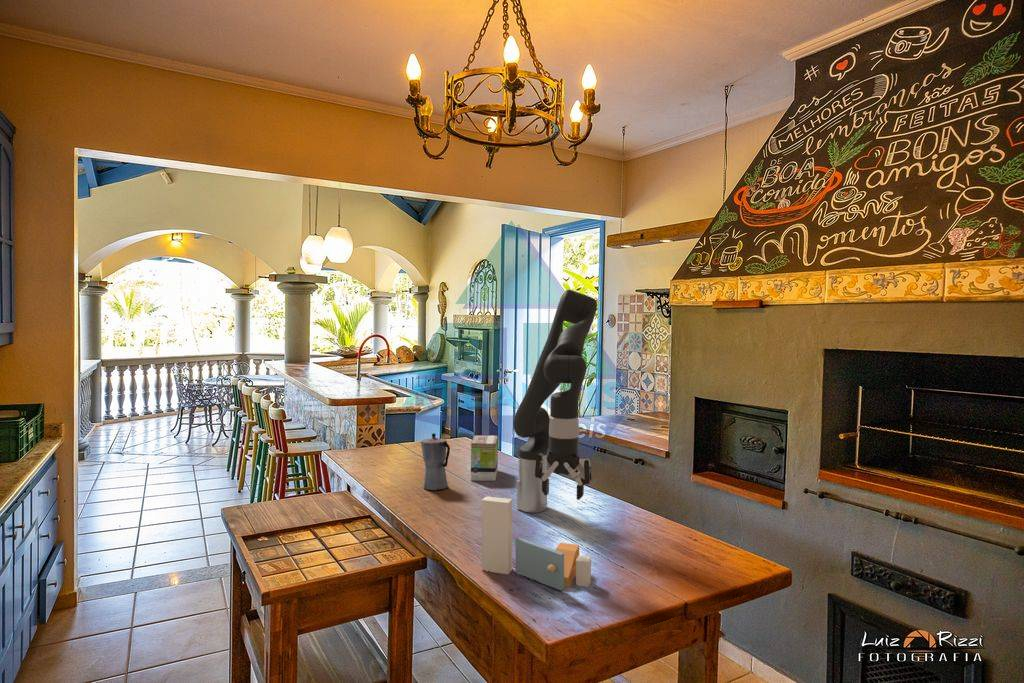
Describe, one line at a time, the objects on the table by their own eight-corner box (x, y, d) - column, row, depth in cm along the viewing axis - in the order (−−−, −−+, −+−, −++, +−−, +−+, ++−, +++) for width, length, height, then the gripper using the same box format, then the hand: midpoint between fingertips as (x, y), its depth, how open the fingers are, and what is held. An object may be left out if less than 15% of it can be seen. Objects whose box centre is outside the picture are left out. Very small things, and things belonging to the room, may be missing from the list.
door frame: (482, 570, 145) (481, 500, 144) (486, 565, 148) (486, 496, 147) (588, 586, 136) (588, 511, 135) (590, 581, 139) (591, 507, 138)
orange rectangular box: (568, 588, 135) (568, 563, 135) (547, 584, 137) (547, 560, 137) (579, 568, 146) (579, 545, 145) (560, 565, 147) (560, 542, 147)
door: (511, 574, 141) (511, 540, 141) (518, 570, 143) (518, 537, 143) (557, 592, 132) (557, 556, 132) (564, 588, 134) (564, 553, 133)
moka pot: (432, 480, 221) (431, 429, 220) (460, 488, 211) (460, 434, 210) (413, 486, 213) (412, 433, 212) (441, 495, 204) (441, 439, 203)
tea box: (496, 481, 220) (496, 443, 219) (470, 481, 220) (469, 443, 219) (498, 470, 235) (498, 434, 234) (473, 470, 235) (473, 434, 234)
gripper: (532, 434, 145) (531, 497, 146) (588, 440, 140) (586, 505, 141) (541, 428, 152) (540, 488, 153) (594, 433, 147) (593, 495, 148)
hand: (562, 496), depth 147 cm, fingers open, 8 cm apart
